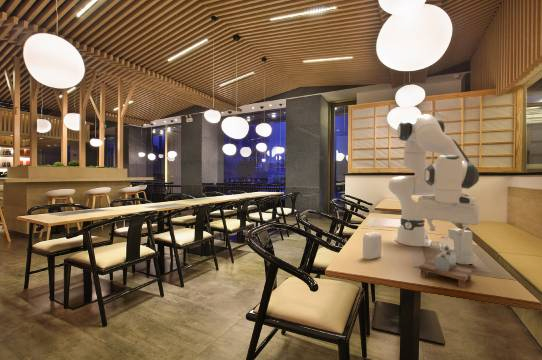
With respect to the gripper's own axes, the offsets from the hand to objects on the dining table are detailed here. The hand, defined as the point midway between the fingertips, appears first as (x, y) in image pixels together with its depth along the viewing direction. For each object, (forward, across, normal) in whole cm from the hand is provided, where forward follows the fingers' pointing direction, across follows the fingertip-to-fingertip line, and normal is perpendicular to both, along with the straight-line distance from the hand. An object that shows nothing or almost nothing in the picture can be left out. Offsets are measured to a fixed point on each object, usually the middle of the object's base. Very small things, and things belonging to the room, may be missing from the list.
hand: (446, 232), depth 104 cm
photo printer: (+18, -31, +2) cm, 36 cm away
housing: (+14, 0, 0) cm, 14 cm away
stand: (+18, 0, -1) cm, 18 cm away
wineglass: (+18, -4, +17) cm, 25 cm away
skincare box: (+18, -1, +27) cm, 33 cm away
